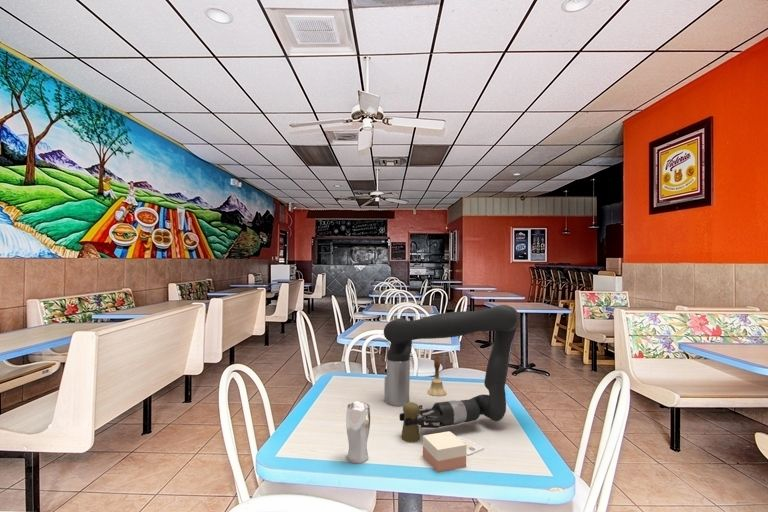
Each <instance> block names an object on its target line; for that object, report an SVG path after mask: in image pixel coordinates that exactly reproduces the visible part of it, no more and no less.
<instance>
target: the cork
mask: <svg viewBox="0 0 768 512" xmlns="http://www.w3.org/2000/svg"><path fill="white" fill-rule="evenodd" d="M402 411H403V412H402V413H404V414H405V415H404V419H405V418H412V419H411V420H414V419H416V417H417V414H418V413H419V404H418V403H416V402H413V401H412V402H411V401H409V402H408V403H406V404H404V405H403V406H402ZM402 423H403V424H402V430H401V437H400V439H401V440H403V442H406V443H417V442H419V441H420V440H421V437H420V436H421V435H420V434H421V433H420V427H419V426H420V425H419V426H417V425H416V424H415V425H410V426H405V425H404V421H402Z"/></svg>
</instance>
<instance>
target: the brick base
mask: <svg viewBox="0 0 768 512" xmlns="http://www.w3.org/2000/svg"><path fill="white" fill-rule="evenodd" d="M422 457H423V458H424V460H426V461H427V463H429V465H430V466H431V467H432V468H433V469H434V470H435V472H437V473H440V472H445V471H450V470H454V469H460V468H465V466H466V467H467V455H466V444H465V443H464V442H462V441H461V440H460V439H459V438H458V436H457V435H455V434H454V433H452V431H449V430H448V431H443V432H442V431H441V432H437V433H431V434H424V435H422Z"/></svg>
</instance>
